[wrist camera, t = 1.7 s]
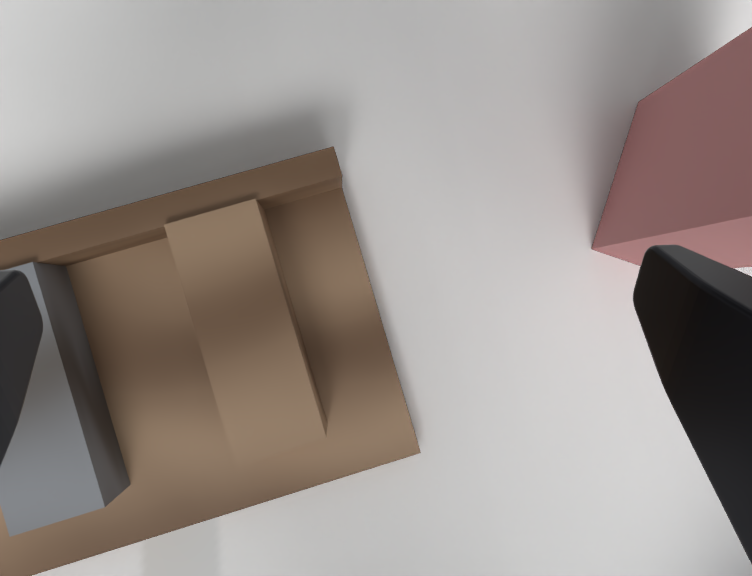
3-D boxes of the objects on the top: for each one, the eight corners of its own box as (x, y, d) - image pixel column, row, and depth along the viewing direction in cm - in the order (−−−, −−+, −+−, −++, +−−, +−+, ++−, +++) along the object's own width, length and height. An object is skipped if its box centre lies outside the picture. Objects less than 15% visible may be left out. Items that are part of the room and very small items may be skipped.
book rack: (417, 447, 24) (430, 470, 21) (-8, 581, 23) (-66, 628, 20) (334, 165, 24) (333, 144, 21) (-95, 287, 23) (-167, 285, 20)
